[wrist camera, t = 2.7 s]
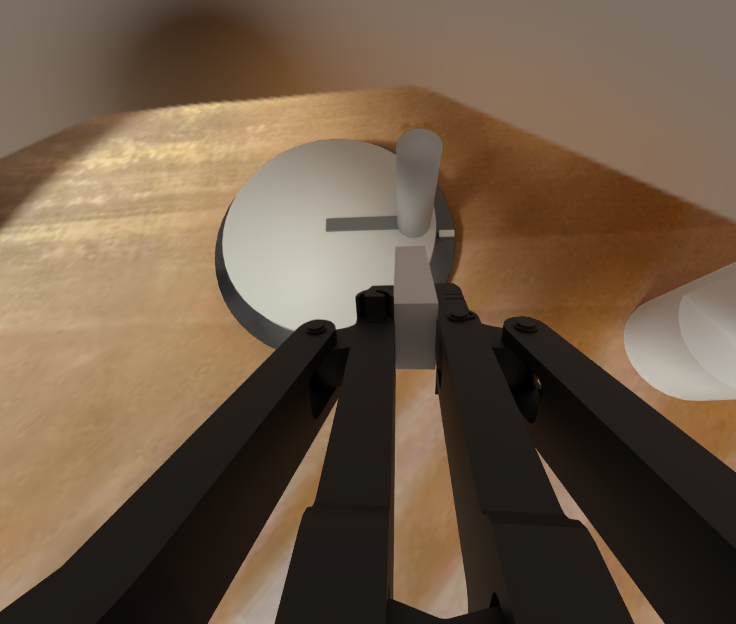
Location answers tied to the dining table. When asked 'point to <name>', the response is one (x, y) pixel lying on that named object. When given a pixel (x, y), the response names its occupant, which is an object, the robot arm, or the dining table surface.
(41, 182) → the dining table surface
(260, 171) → the dial
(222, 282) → the dial base
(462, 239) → the dining table surface
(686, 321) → the cylinder with rectangular tab
